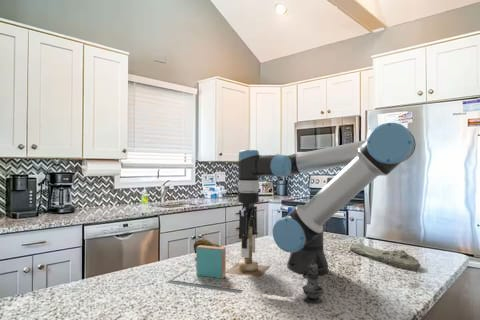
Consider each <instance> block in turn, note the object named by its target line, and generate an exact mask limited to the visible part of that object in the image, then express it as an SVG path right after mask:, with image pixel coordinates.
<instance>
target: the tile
mask: <svg viewBox="0 0 480 320" xmlns="http://www.w3.org/2000/svg"><path fill="white" fill-rule="evenodd" d="M226 250H227V249H226V247H223V246H221V247H214V246H203V245H199V246H197V253H196V259H195V260H196V265H195V266H196V267H195V268H196V271H195V272H196V276H200V277H208V278H218V279H224V278H225V277H226V274H227V273H226V272H227V270H226V268H227V267H226V265H227V263H226V261H227V260H226V259H227V258H226V255H227V254H226Z"/></svg>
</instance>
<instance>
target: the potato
mask: <svg viewBox="0 0 480 320" xmlns="http://www.w3.org/2000/svg"><path fill="white" fill-rule="evenodd" d="M199 245H203V246H214V247H222V246H221V245H219V244H217V243H213V242H211V241H209V240H208V239H198V240H196V241H194V243H193V250H194V251H193V252H194V254H197V246H199Z"/></svg>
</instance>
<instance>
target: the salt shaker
mask: <svg viewBox="0 0 480 320" xmlns="http://www.w3.org/2000/svg"><path fill="white" fill-rule="evenodd" d="M313 261H314V260H313V259H312V262H310V263H309V264H308V274H307V276H306V277H307V278H306V279H307V281H306V282H307V283H306V284H305V285H303V286H302V290H303V293H304V295H305V297H304V298H303V302H304V303H306V304H309V305H319V304H322V302H323V299H321V298H320V297H321V296H322V295H323V294H322V293H323V291H324V288H323V287H322V286H320V285H319V277H320V276H319V275H318V265H317V264H316V263H314V262H313Z"/></svg>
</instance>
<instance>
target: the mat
mask: <svg viewBox="0 0 480 320" xmlns="http://www.w3.org/2000/svg"><path fill="white" fill-rule="evenodd" d="M188 271H189V269H187V270H185V271H183V272H181V273H180V274H178V275H176V276H175V277H173V278H172V279H169V280H168V281H166V284H172V285H180V286H181V285H182V286H188V287H195V288H202V289H208V290H215V291H222V292H230V293H236V294H241V293H243V291H244V290H243V289H237V288H229V287H222V286H214V285H206V284H200V283H193V282H188V281H187V282H185V281H178V280H176V279H177V278H179V277H180V276H182V275H184V274H185V273H187V272H188Z"/></svg>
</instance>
